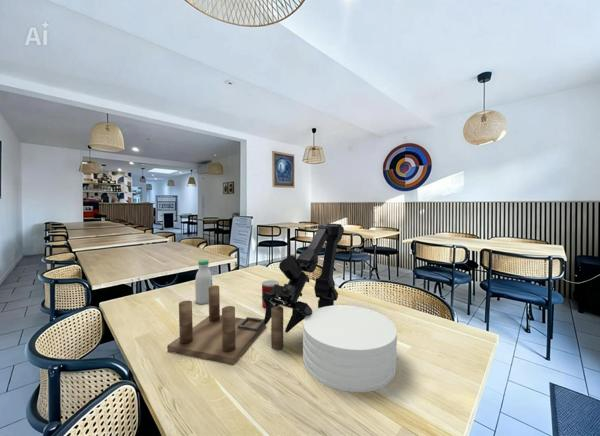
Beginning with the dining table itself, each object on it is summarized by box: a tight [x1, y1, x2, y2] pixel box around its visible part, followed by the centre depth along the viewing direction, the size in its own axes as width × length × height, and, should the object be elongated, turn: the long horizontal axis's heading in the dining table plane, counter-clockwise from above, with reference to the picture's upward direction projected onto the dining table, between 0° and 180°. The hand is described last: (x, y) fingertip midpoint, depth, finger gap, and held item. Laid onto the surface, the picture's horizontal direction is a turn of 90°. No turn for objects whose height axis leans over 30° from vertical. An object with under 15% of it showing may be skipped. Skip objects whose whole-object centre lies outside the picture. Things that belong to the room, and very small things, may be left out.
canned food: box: [261, 279, 280, 309], centre depth 119 cm, size 8×8×11 cm
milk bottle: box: [194, 259, 213, 305], centre depth 124 cm, size 8×8×20 cm
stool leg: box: [270, 305, 284, 351], centre depth 86 cm, size 4×4×13 cm
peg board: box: [167, 285, 267, 365], centre depth 91 cm, size 24×24×15 cm
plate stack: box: [302, 304, 398, 393], centre depth 80 cm, size 28×28×12 cm
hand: (275, 328), depth 85 cm, fingers open, 9 cm apart
